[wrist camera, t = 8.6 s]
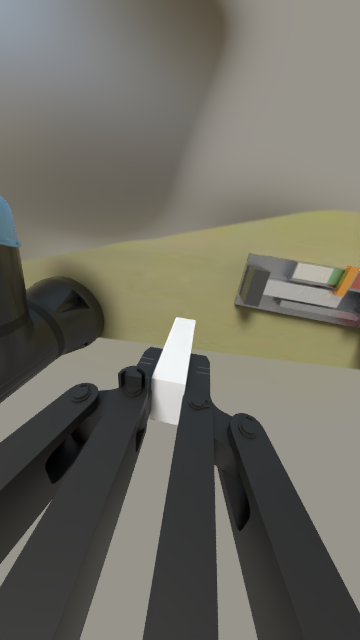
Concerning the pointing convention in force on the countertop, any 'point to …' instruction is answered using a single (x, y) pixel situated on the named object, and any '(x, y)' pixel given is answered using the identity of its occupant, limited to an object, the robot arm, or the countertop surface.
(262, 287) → the plunger
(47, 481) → the robot arm
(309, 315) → the gauge body
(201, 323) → the countertop surface
